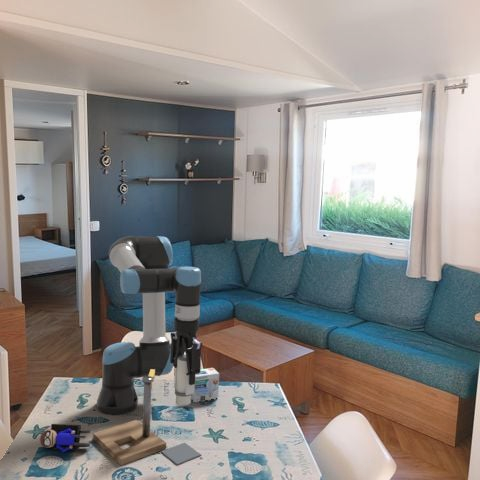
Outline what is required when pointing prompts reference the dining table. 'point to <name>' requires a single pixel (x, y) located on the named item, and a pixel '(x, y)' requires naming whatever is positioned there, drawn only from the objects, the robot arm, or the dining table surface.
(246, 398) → the dining table surface
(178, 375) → the plug
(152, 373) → the bar
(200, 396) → the light bulb box
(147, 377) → the post
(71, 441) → the character figurine
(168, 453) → the mat
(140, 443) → the socket board
